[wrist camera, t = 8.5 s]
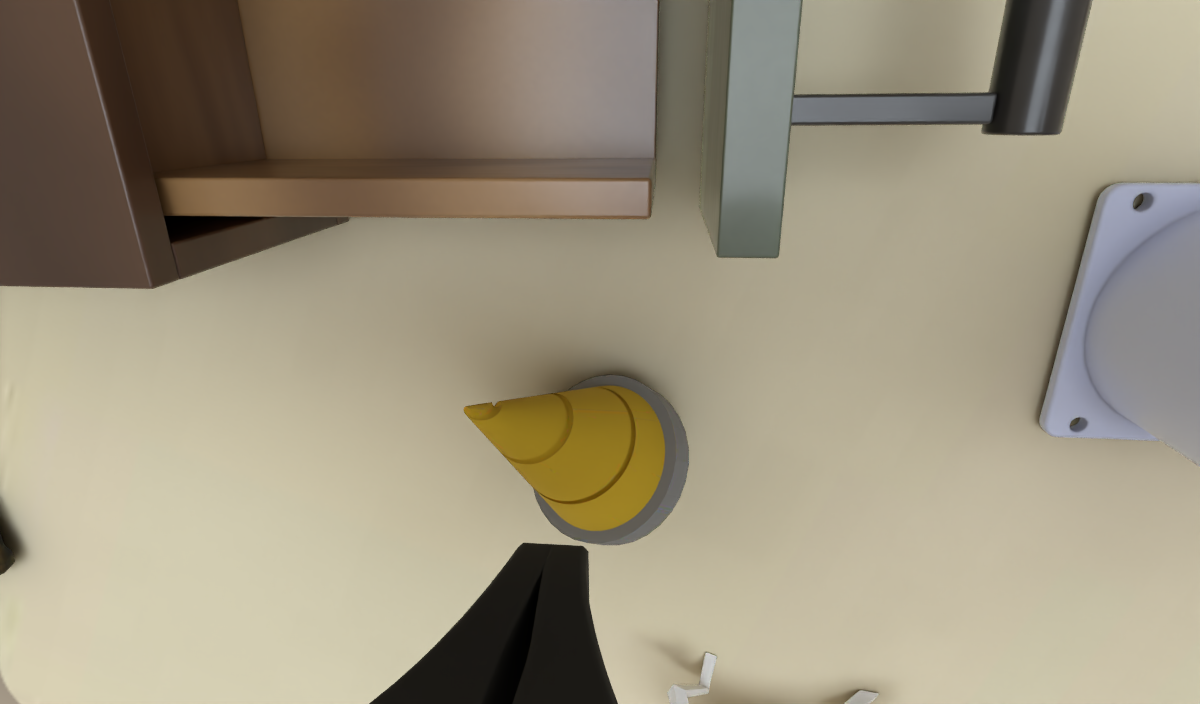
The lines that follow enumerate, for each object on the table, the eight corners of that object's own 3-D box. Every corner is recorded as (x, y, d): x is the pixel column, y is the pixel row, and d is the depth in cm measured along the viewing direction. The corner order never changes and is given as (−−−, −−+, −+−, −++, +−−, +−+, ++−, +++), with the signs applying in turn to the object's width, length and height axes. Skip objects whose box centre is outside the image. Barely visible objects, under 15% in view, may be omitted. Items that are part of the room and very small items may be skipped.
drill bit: (567, 506, 25) (356, 463, 17) (627, 382, 25) (449, 281, 17) (680, 580, 21) (485, 570, 13) (747, 436, 22) (596, 343, 14)
